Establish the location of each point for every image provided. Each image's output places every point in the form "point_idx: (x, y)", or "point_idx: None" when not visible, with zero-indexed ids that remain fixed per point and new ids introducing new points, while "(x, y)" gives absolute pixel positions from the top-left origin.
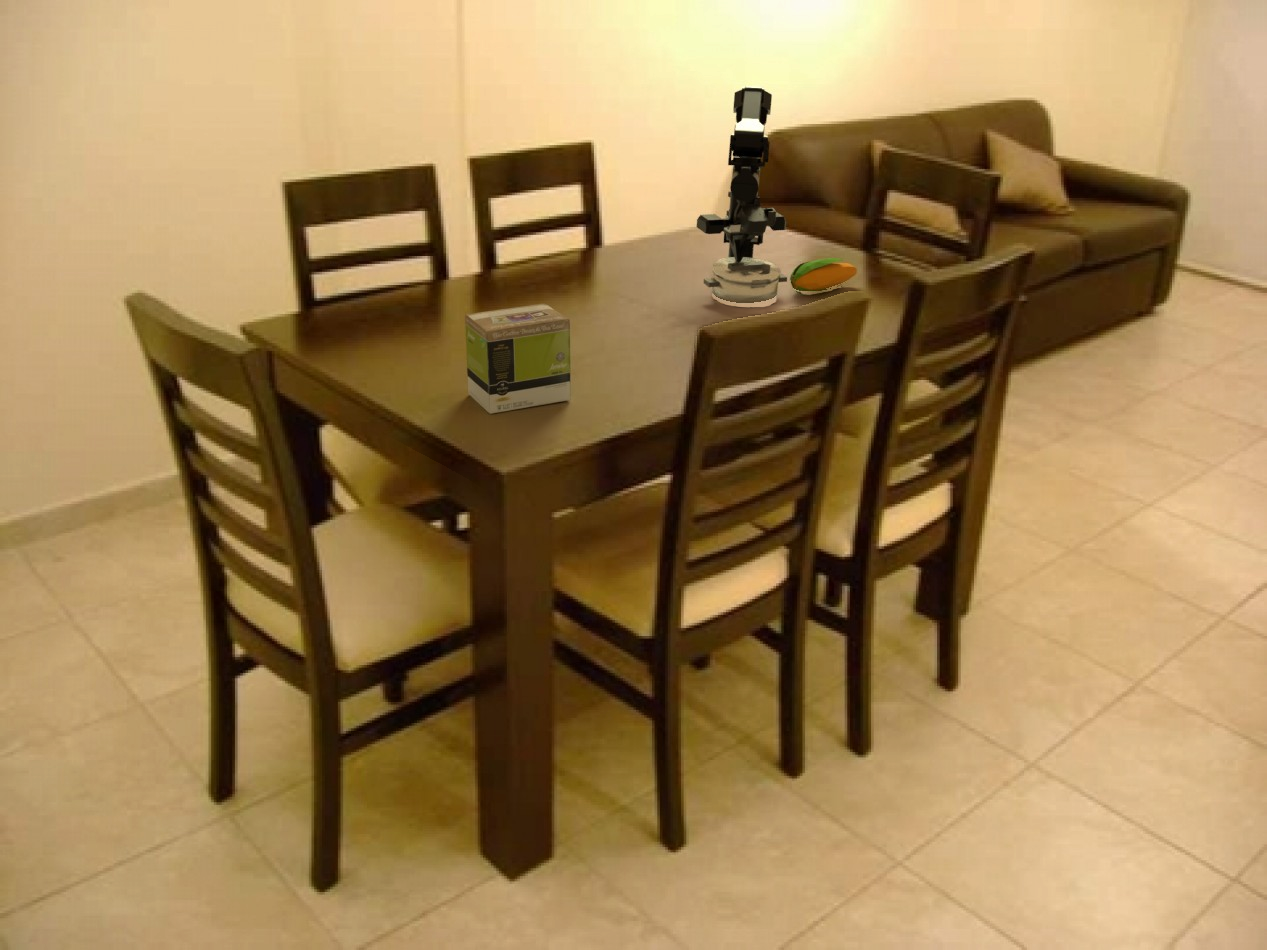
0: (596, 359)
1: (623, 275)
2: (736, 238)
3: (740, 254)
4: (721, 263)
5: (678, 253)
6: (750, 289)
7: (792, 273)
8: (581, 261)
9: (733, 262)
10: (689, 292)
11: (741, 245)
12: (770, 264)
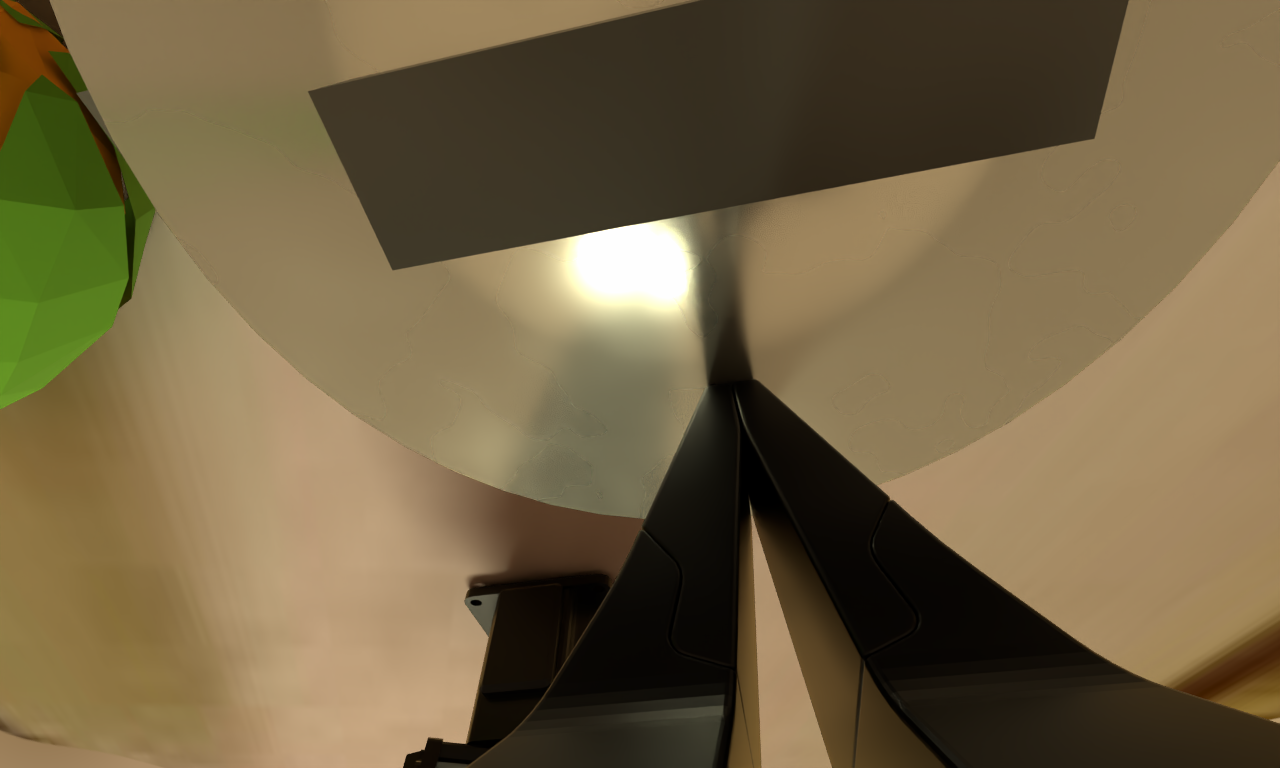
0: None
1: (1232, 547)
2: (1134, 710)
3: (741, 442)
4: (1018, 322)
5: (773, 727)
6: None
7: (22, 201)
8: (1242, 678)
9: (817, 362)
10: None
11: (744, 588)
12: (280, 286)
